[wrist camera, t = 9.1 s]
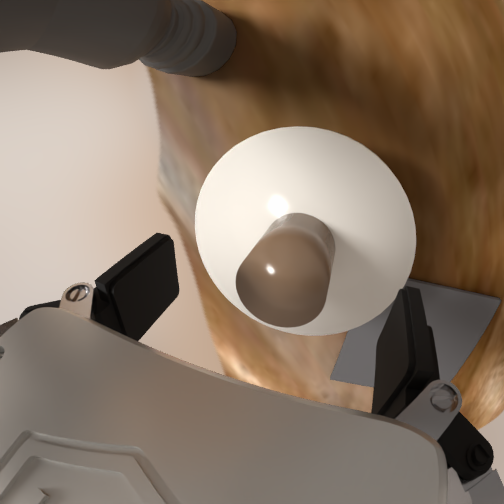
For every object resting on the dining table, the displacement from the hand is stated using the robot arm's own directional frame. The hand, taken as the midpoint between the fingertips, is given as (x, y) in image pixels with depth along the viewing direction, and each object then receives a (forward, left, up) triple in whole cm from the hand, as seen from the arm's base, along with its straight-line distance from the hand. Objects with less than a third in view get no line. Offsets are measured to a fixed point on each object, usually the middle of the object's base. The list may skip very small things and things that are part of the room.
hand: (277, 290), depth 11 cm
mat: (+12, +12, -12) cm, 20 cm away
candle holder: (-12, -10, -12) cm, 20 cm away
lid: (+1, 0, -6) cm, 6 cm away
